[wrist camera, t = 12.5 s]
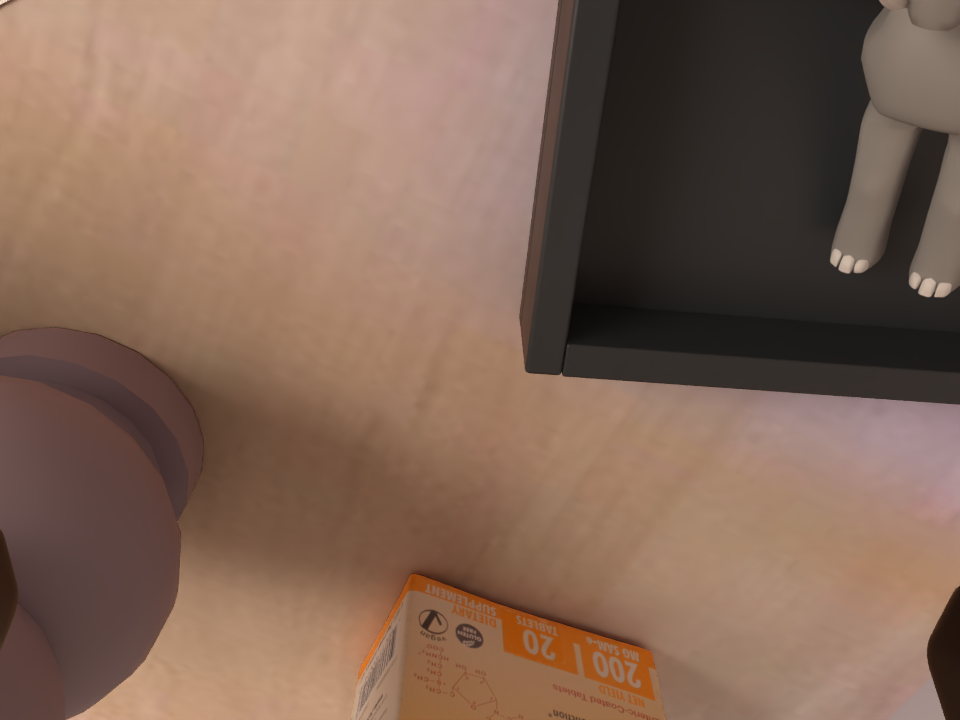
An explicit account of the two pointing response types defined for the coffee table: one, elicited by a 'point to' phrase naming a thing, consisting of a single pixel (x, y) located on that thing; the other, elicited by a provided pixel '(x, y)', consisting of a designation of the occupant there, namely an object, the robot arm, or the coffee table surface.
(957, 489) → the coffee table surface
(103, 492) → the cat figurine
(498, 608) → the supplement box
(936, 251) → the elephant figurine
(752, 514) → the coffee table surface
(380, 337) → the coffee table surface
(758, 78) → the tray
